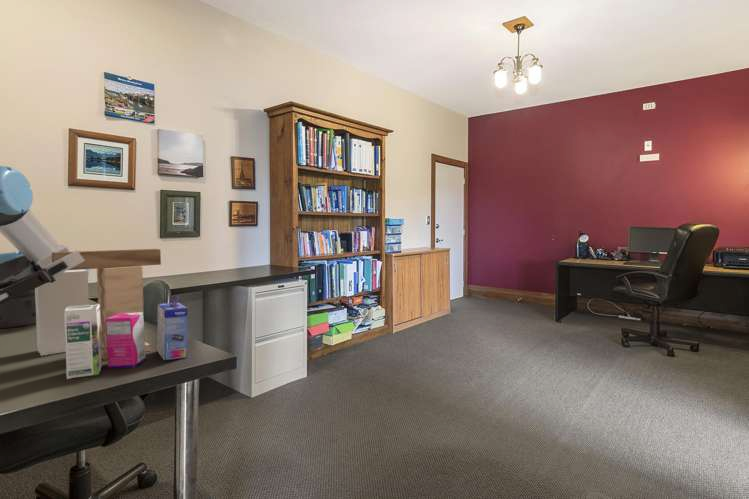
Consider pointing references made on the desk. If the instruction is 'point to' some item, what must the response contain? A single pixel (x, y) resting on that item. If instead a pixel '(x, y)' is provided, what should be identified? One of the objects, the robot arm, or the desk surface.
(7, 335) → the desk surface
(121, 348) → the supplement box
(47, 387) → the desk surface
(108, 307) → the stand
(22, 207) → the robot arm
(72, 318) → the syrup box
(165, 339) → the ink cartridge box
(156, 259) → the rail
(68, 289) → the pedestal
